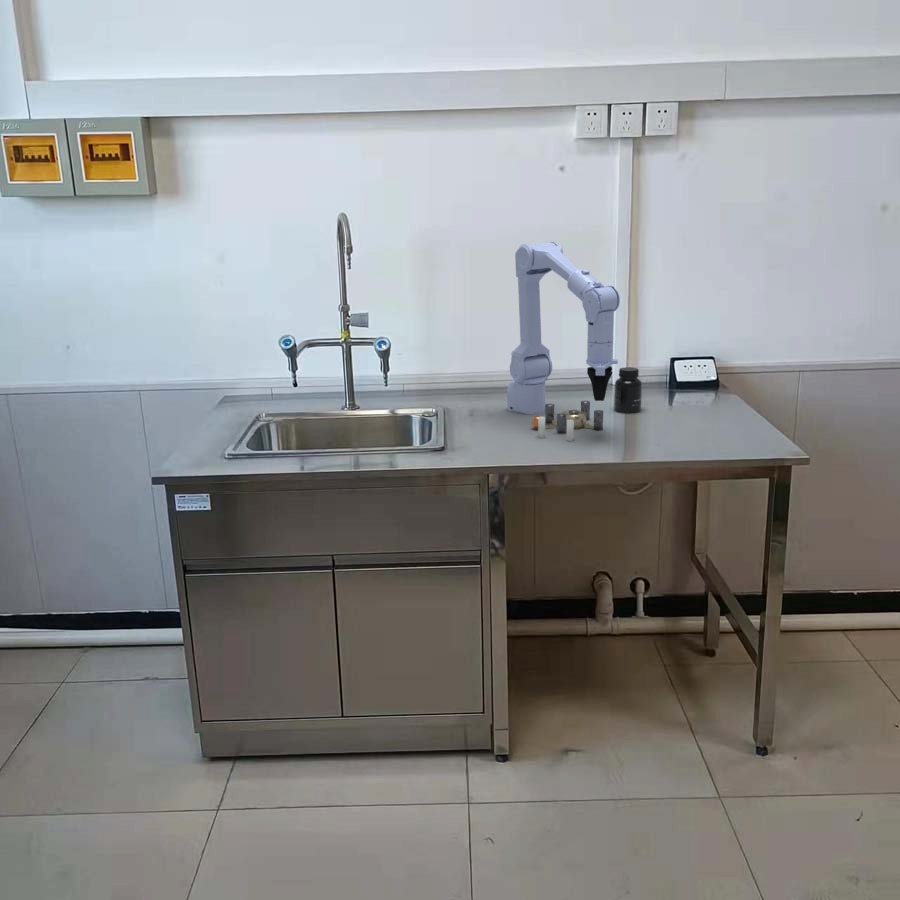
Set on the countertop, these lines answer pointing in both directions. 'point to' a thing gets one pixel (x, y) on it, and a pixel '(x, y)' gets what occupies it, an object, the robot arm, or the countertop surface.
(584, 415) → the capstan
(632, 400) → the supplement bottle
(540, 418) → the white rounded posts
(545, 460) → the countertop surface
